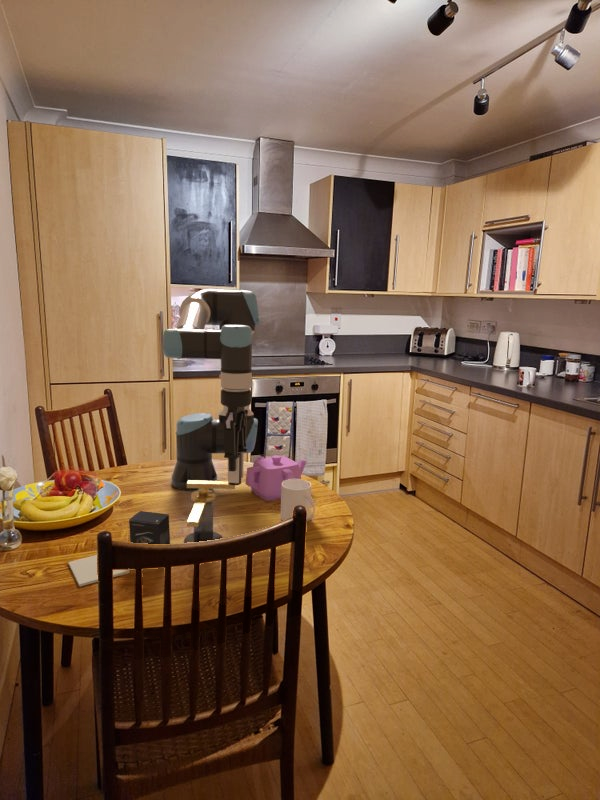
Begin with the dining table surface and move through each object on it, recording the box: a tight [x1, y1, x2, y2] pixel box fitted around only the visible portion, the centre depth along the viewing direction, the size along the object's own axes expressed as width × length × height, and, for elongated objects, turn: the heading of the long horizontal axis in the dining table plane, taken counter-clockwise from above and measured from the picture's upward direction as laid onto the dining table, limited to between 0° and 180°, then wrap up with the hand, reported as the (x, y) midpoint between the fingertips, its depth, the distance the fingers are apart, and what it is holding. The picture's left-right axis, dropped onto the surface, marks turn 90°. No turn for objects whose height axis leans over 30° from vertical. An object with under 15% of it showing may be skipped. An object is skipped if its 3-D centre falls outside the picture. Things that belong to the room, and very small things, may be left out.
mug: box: [280, 478, 316, 522], centre depth 148 cm, size 9×12×11 cm
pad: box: [68, 554, 131, 588], centre depth 120 cm, size 11×11×1 cm
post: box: [183, 501, 224, 544], centre depth 133 cm, size 10×10×12 cm
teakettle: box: [245, 455, 307, 502], centre depth 168 cm, size 17×17×12 cm
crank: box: [186, 453, 242, 528], centre depth 124 cm, size 14×19×12 cm
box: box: [128, 510, 171, 545], centre depth 125 cm, size 8×6×11 cm
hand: (235, 479), depth 131 cm, fingers closed on crank, 3 cm apart
